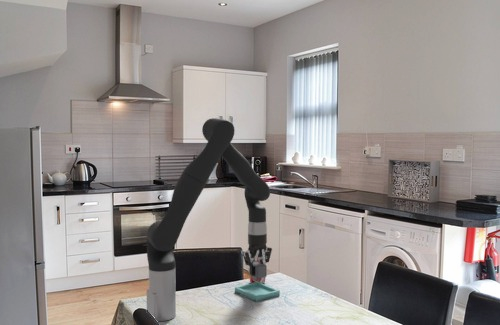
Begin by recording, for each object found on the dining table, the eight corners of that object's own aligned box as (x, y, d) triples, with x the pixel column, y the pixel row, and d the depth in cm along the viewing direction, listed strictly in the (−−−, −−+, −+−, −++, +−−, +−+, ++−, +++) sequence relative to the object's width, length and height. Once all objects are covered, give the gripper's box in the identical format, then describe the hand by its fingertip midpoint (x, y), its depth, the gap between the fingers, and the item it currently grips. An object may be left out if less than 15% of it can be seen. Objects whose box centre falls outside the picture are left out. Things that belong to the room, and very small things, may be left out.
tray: (256, 301, 172) (256, 296, 172) (234, 292, 183) (234, 287, 183) (279, 295, 179) (279, 290, 179) (257, 286, 190) (257, 281, 190)
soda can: (247, 284, 193) (247, 256, 192) (252, 279, 200) (252, 253, 199) (263, 286, 191) (263, 258, 190) (267, 281, 198) (267, 254, 197)
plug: (266, 276, 179) (266, 265, 179) (258, 278, 177) (258, 267, 177) (254, 272, 186) (254, 261, 185) (246, 273, 183) (246, 262, 183)
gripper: (248, 236, 172) (249, 280, 173) (276, 231, 181) (276, 273, 182) (237, 233, 178) (237, 275, 179) (265, 228, 187) (265, 269, 188)
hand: (257, 274), depth 181 cm, fingers closed on plug, 4 cm apart
